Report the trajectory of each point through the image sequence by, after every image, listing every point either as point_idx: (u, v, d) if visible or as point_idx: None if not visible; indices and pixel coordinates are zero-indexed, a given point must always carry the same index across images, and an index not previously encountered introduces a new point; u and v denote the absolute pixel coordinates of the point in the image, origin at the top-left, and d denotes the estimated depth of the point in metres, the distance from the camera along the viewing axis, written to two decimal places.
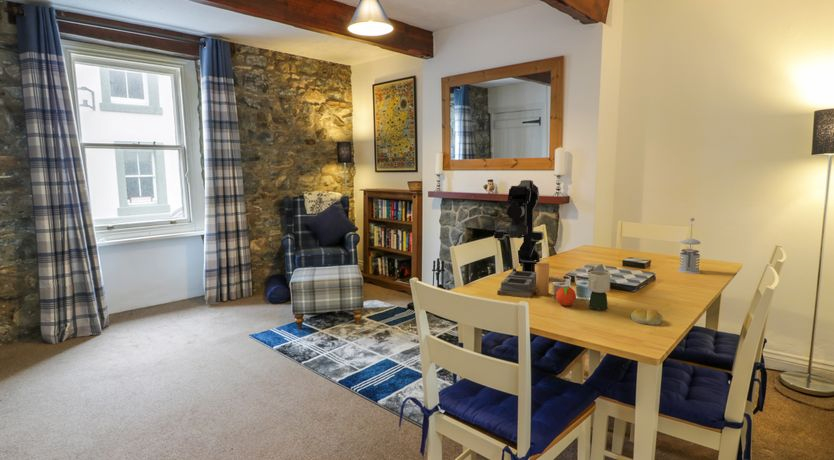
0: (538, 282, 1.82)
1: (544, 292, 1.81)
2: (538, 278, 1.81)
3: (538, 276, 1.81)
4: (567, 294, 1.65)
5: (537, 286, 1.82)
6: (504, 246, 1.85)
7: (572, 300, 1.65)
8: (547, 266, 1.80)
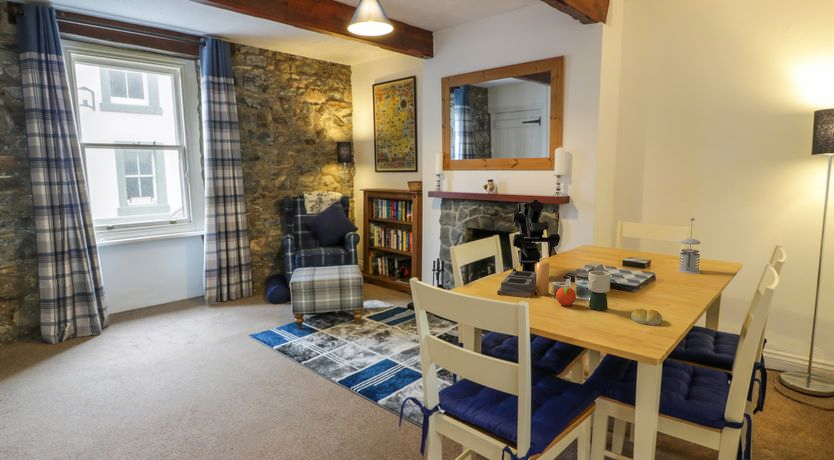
0: (538, 282, 1.82)
1: (544, 292, 1.81)
2: (538, 278, 1.81)
3: (538, 276, 1.81)
4: (567, 294, 1.65)
5: (537, 286, 1.82)
6: (524, 247, 1.91)
7: (572, 300, 1.65)
8: (547, 266, 1.80)
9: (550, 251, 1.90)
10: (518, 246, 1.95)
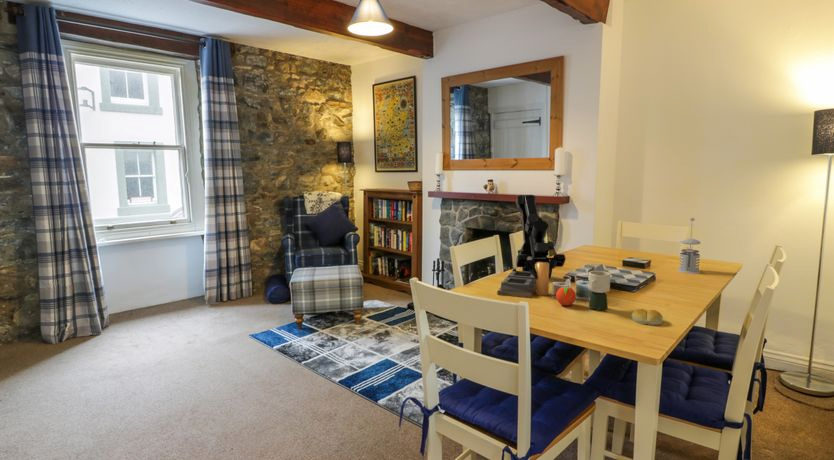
0: (538, 282, 1.82)
1: (544, 292, 1.81)
2: (538, 278, 1.81)
3: (538, 276, 1.81)
4: (567, 294, 1.65)
5: (537, 286, 1.82)
6: (534, 268, 1.83)
7: (572, 300, 1.65)
8: (547, 266, 1.80)
9: (550, 273, 1.82)
10: (527, 267, 1.87)
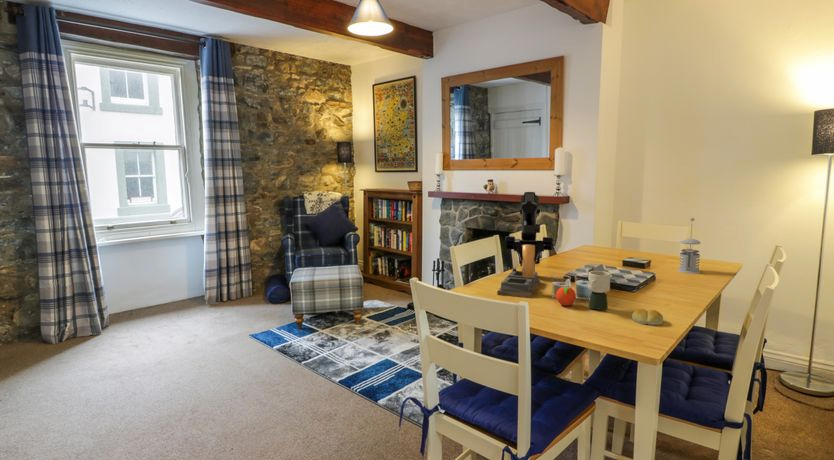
0: (523, 264, 1.83)
1: (528, 274, 1.82)
2: (523, 260, 1.83)
3: (523, 258, 1.82)
4: (567, 294, 1.65)
5: (522, 268, 1.84)
6: (520, 250, 1.84)
7: (572, 300, 1.65)
8: (532, 248, 1.81)
9: (535, 255, 1.82)
10: (515, 249, 1.88)
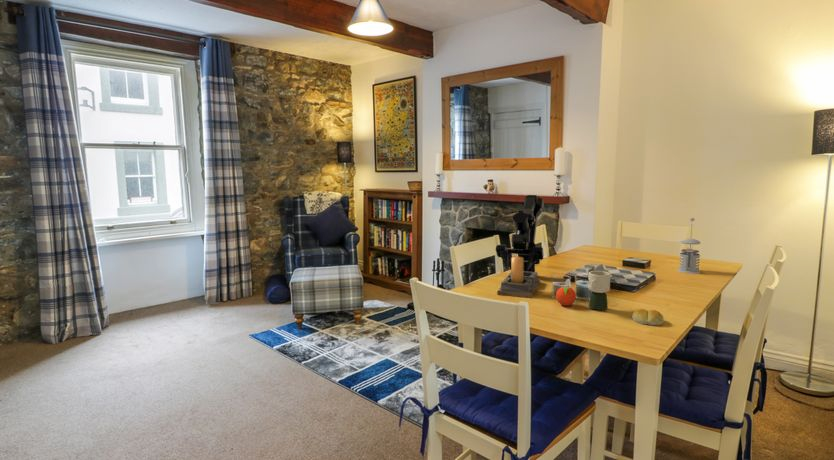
0: (511, 276, 1.86)
1: None
2: (511, 272, 1.86)
3: (511, 270, 1.86)
4: (567, 294, 1.65)
5: (511, 280, 1.87)
6: (505, 258, 1.88)
7: (572, 300, 1.65)
8: (520, 261, 1.83)
9: (528, 264, 1.84)
10: (502, 257, 1.92)
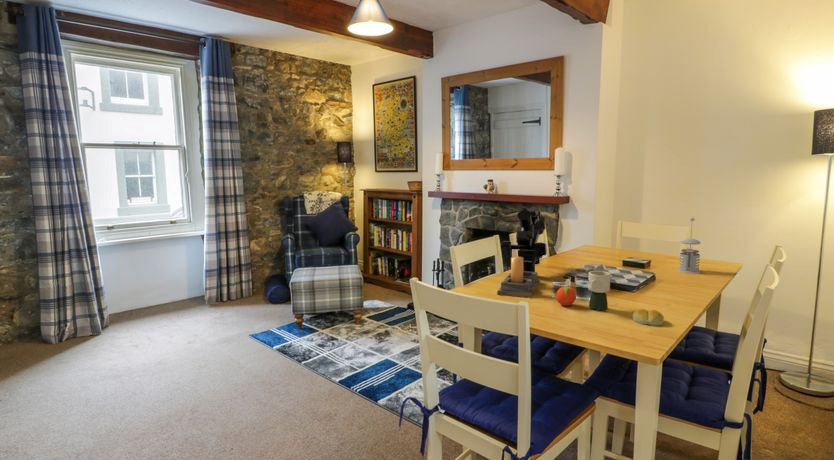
0: (511, 276, 1.86)
1: None
2: (511, 272, 1.86)
3: (511, 270, 1.86)
4: (567, 294, 1.65)
5: (511, 280, 1.87)
6: (509, 254, 1.97)
7: (572, 300, 1.65)
8: (519, 261, 1.83)
9: (533, 260, 1.92)
10: (506, 253, 2.01)
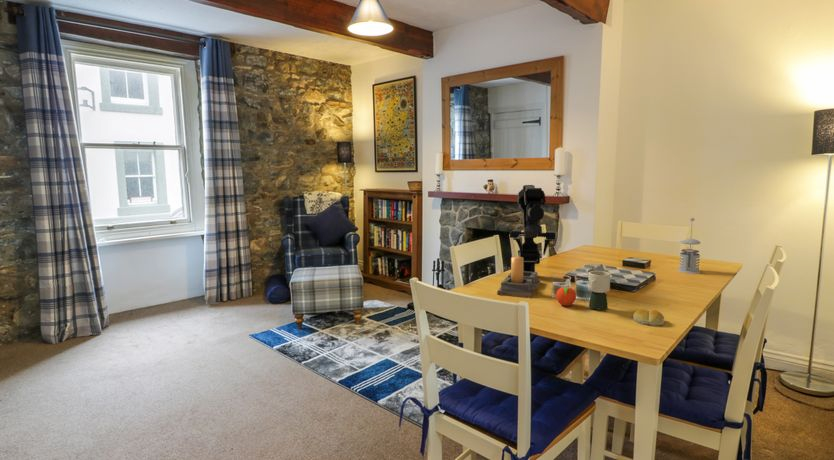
0: (511, 276, 1.86)
1: None
2: (511, 272, 1.86)
3: (511, 270, 1.86)
4: (567, 294, 1.65)
5: (511, 280, 1.87)
6: (519, 245, 1.97)
7: (572, 300, 1.65)
8: (519, 260, 1.84)
9: (544, 250, 1.93)
10: None
